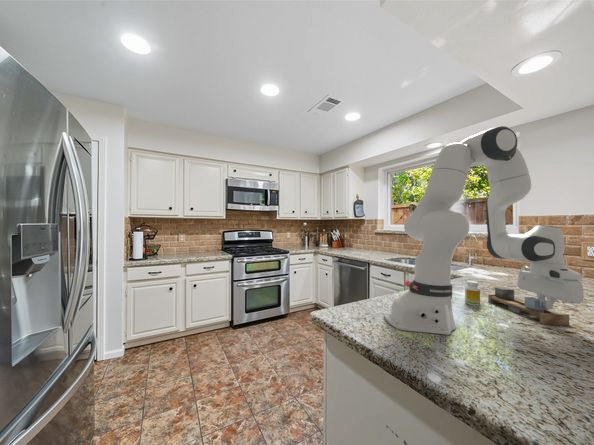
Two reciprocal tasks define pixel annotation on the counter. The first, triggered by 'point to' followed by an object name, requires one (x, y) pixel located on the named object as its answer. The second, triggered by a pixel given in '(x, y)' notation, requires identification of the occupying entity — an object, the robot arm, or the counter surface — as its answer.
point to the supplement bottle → (472, 293)
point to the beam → (519, 307)
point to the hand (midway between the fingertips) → (546, 307)
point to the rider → (534, 304)
